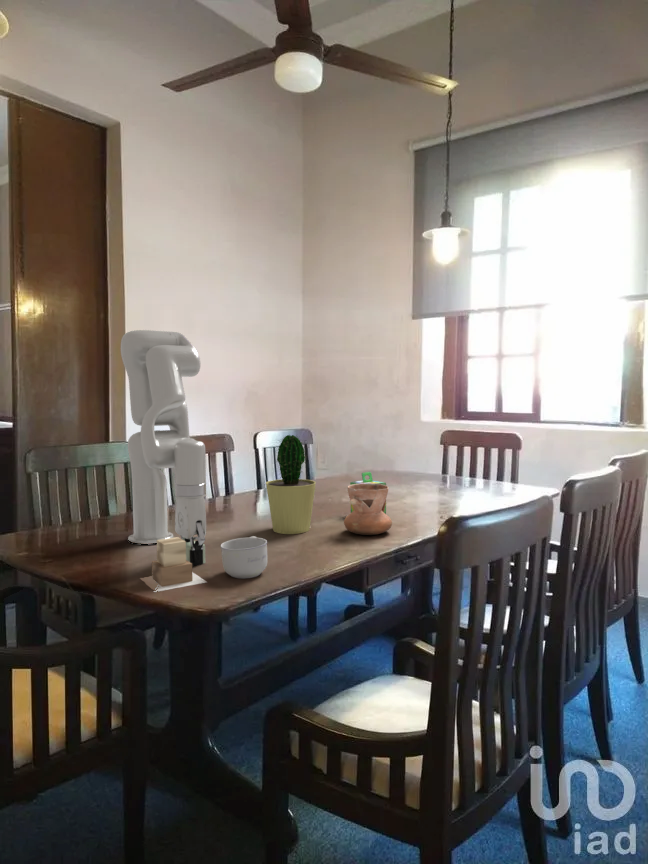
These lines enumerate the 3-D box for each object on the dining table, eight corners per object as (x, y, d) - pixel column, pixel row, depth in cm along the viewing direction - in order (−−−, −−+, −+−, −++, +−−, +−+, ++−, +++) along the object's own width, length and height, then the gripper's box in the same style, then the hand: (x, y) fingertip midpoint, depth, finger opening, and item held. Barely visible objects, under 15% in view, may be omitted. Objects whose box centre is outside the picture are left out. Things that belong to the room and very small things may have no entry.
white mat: (137, 579, 141) (137, 577, 141) (187, 570, 148) (187, 569, 147) (154, 593, 131) (154, 591, 131) (207, 583, 137) (207, 582, 137)
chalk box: (368, 519, 204) (368, 475, 203) (349, 515, 211) (349, 472, 210) (387, 515, 210) (387, 472, 209) (368, 511, 217) (368, 469, 216)
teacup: (254, 584, 137) (253, 549, 136) (212, 579, 141) (211, 545, 140) (281, 567, 150) (280, 535, 149) (242, 563, 154) (241, 531, 153)
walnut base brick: (152, 578, 140) (151, 561, 140) (181, 573, 144) (181, 556, 144) (162, 586, 134) (161, 568, 134) (192, 581, 138) (192, 563, 138)
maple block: (157, 561, 140) (156, 540, 139) (178, 558, 142) (177, 537, 142) (164, 566, 136) (164, 544, 135) (186, 563, 138) (185, 541, 138)
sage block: (179, 563, 154) (178, 543, 154) (198, 560, 157) (197, 540, 156) (186, 568, 150) (185, 547, 150) (205, 564, 153) (205, 544, 152)
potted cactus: (255, 530, 189) (254, 433, 187) (290, 522, 200) (289, 430, 198) (291, 538, 179) (291, 435, 177) (326, 529, 190) (325, 432, 188)
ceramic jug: (372, 541, 175) (372, 492, 174) (331, 534, 184) (331, 487, 183) (405, 530, 189) (405, 484, 188) (366, 523, 198) (366, 480, 197)
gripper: (164, 487, 157) (166, 557, 158) (188, 497, 143) (190, 573, 144) (192, 484, 161) (194, 552, 162) (218, 494, 147) (220, 568, 148)
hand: (192, 561), depth 153 cm, fingers closed on sage block, 5 cm apart
